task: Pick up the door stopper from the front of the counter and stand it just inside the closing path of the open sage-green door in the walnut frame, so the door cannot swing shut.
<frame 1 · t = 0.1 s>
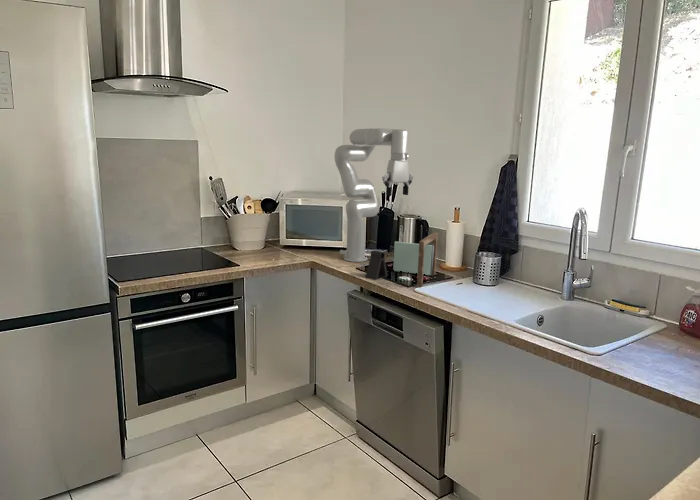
hand: (397, 195, 243), 37 cm above the counter, tool pointing down, fingers open, 9 cm apart
door: (413, 258, 251), point 7 cm above the counter, hinge at 90.0°
door frame: (425, 281, 240), on the counter
door stopper: (376, 277, 245), on the counter
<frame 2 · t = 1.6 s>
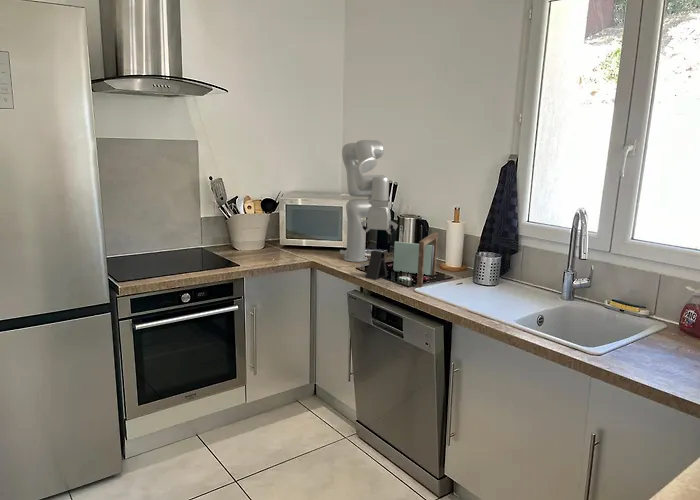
hand: (378, 241, 241), 17 cm above the counter, tool pointing down, fingers open, 9 cm apart
nothing on the counter moved.
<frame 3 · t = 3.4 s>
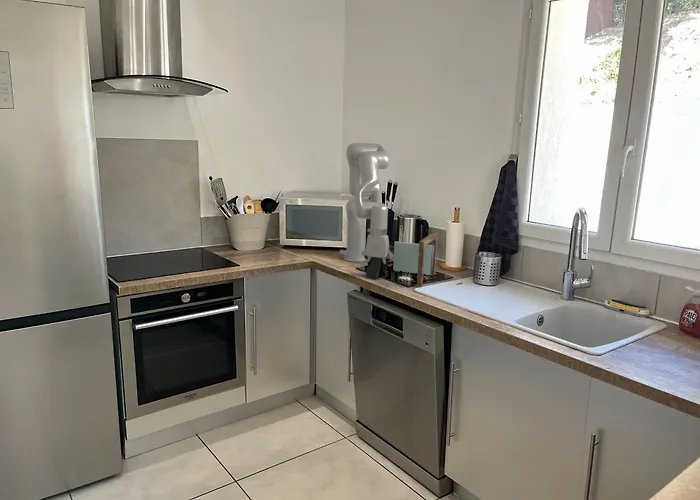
hand: (377, 270, 244), 3 cm above the counter, tool pointing down, fingers closed on door stopper, 6 cm apart
door stopper: (376, 277, 244), on the counter, touching gripper
everything else where it was.
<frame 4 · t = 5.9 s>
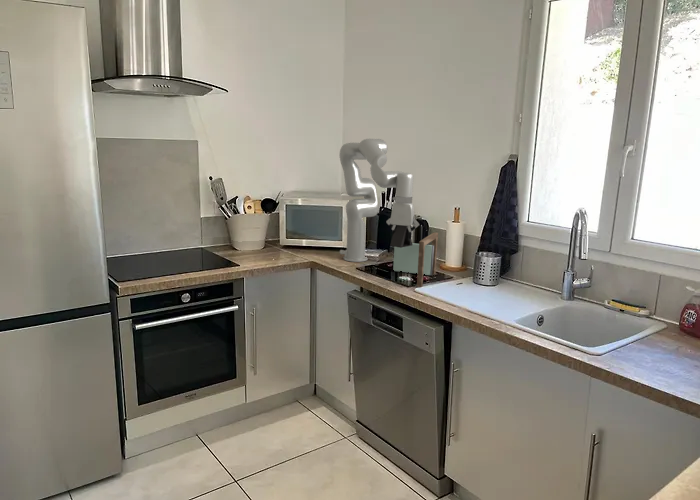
hand: (401, 239, 244), 17 cm above the counter, tool pointing down, fingers closed on door stopper, 6 cm apart
door stopper: (401, 246, 245), point 14 cm above the counter, touching gripper
everything else where it was.
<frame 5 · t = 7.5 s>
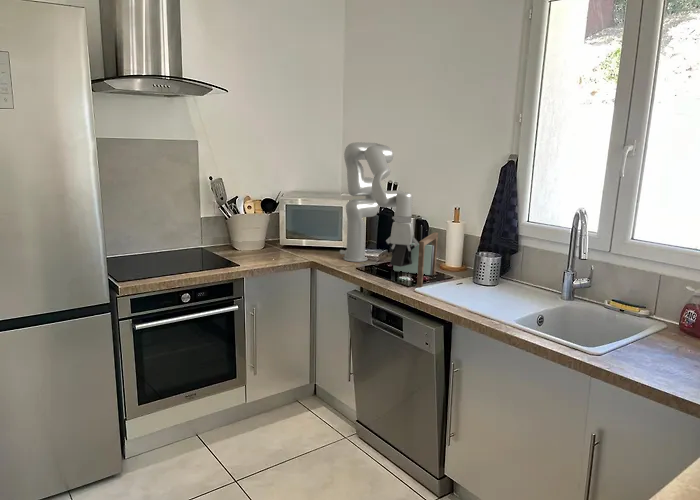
hand: (401, 257, 246), 9 cm above the counter, tool pointing down, fingers closed on door stopper, 6 cm apart
door stopper: (401, 264, 247), point 5 cm above the counter, touching gripper
everything else where it was.
when the fingers open (4 cm above the counter, at t = 8.9 s): door stopper stays where it is, on the counter.
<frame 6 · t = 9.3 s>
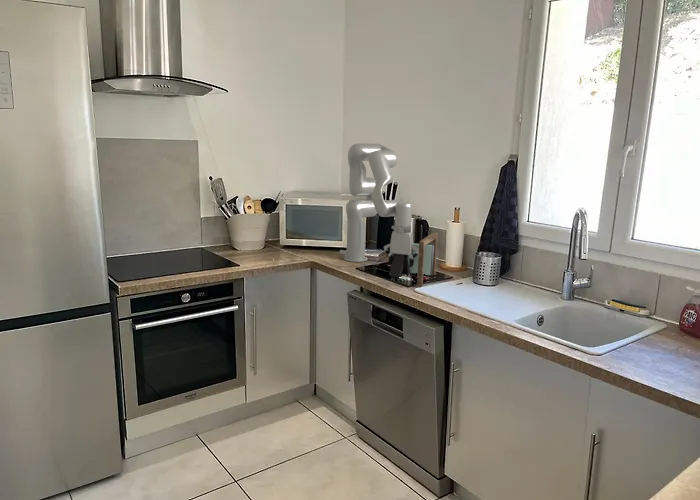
hand: (400, 265, 247), 5 cm above the counter, tool pointing down, fingers open, 9 cm apart
door stopper: (399, 276, 248), on the counter
everything else where it was.
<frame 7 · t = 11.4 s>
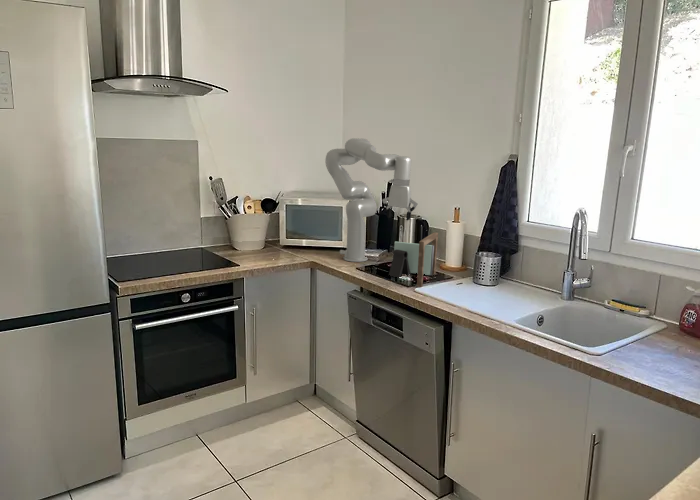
hand: (398, 218, 254), 25 cm above the counter, tool pointing down, fingers open, 9 cm apart
nothing on the counter moved.
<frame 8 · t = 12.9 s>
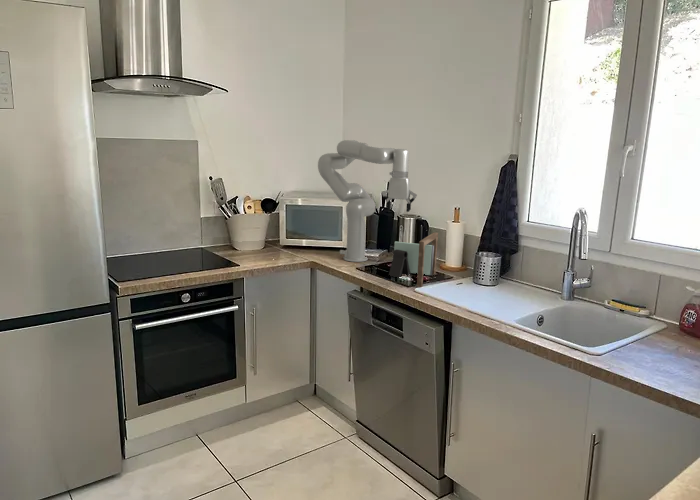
hand: (398, 210, 258), 28 cm above the counter, tool pointing down, fingers open, 9 cm apart
nothing on the counter moved.
at the end: door stopper 0.4 cm from the target spot, on the counter; door stopper tilted 0°; door at +90° (first picture: +90°) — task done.
